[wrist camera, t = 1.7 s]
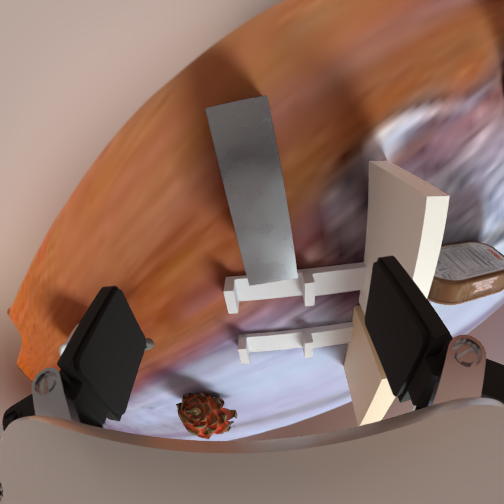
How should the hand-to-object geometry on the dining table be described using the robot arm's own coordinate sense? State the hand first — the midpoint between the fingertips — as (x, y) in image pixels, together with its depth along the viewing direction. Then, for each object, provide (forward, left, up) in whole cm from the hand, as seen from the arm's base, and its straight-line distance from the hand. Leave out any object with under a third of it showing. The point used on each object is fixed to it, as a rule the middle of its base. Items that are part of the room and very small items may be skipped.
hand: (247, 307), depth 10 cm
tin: (-23, +10, -17) cm, 30 cm away
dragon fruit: (+12, +36, -17) cm, 41 cm away
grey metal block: (0, 0, -17) cm, 17 cm away
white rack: (-5, +14, -16) cm, 22 cm away
